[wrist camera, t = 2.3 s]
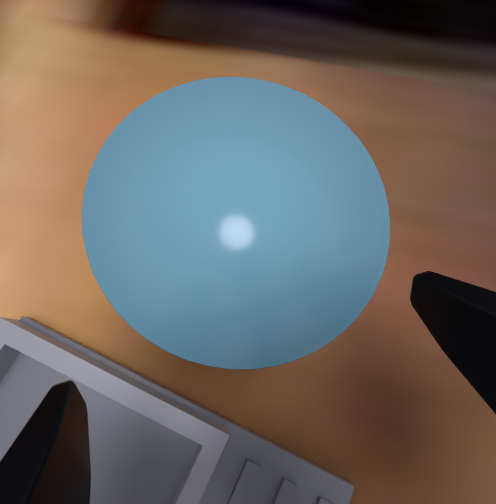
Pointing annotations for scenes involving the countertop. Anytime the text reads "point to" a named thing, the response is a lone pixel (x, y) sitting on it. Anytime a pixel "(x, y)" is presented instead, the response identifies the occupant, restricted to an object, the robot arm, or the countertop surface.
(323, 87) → the countertop surface
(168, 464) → the kitchen sink with drainboard
